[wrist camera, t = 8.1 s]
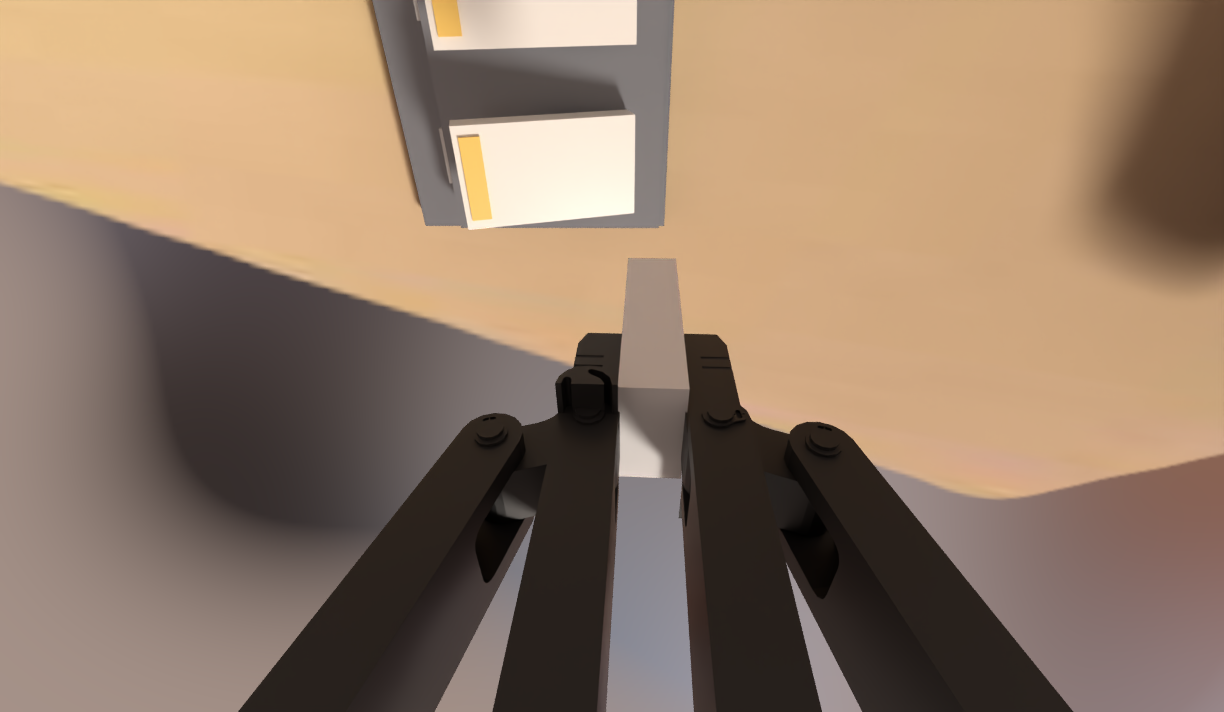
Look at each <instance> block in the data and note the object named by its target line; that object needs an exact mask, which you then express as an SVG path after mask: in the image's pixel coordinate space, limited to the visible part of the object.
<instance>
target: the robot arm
mask: <svg viewBox="0 0 1224 712" xmlns="http://www.w3.org/2000/svg"><path fill="white" fill-rule="evenodd" d="M731 368H732V367H731V362H730V360H729V354H728V349H727V345H726V344H725V343H724V342H723V341H722V340H721V339H720V338H719V337H718V336H717V335H710V334H684V332H683V322H682V313H681V303H680V294H679V284H678V275H677V265H676V259H657V258H628V268H627V280H626V292H625V304H624V317H623V329H622V334H610V333H588V334H587V335H586V336H585V337H584V338H583V339H582V340H581V341H580V342H579V343H578V348H577V352H576V357H575V362H574V367H573V368H572V369H569V370H567V371H566V372H564V373H563V374H561V375H560V376H559V378H558V379H557V381H556V383H555V386H556V397H557V407H558V414H556V415H555V416H554V417H552V418H550V419H548V420H546V421H543V422H539V423H535V424H531V425H525V426H521V423H520V422H519V421H518V420H517V419H516V418H515V417H512V416H510V415H507V414H498V413H493V414H488V415H483V416H480V417H478V418H476V419H474V420H472V421H470V422H469V423H468V424H467V425H466V426H465V427H464V428H463V429H462V430H461V432H460V433H459V434H458V435H457V436H456V438H455V439H454V440H453V442H452V443H451V444H450V445H449V447H448V448H447V449H446V450H445V452H444V453H443V454H442V455H441V457H440V458H439V459H438V460H437V462H436V463H435V464H434V466H433V467H432V468H431V469H430V471H429V472H428V473H427V474H426V476H425V477H424V478H423V479H422V481H421V482H420V483H419V484H418V486H417V487H416V488H415V490H414V491H413V492H412V493H411V494H410V496H409V497H408V498H407V500H406V501H405V502H404V503H403V505H402V506H401V507H400V509H399V510H398V511H397V512H396V513H395V515H394V516H393V517H392V518H391V520H390V521H389V522H388V523H387V525H386V526H385V527H384V529H383V530H382V531H381V532H380V534H379V535H378V536H377V538H376V539H375V540H374V541H373V542H372V544H371V545H370V546H369V547H368V549H367V550H366V551H365V553H364V554H363V555H362V556H361V558H360V559H359V560H358V561H357V563H356V564H355V565H354V566H353V568H352V569H351V570H350V571H349V573H348V574H347V575H346V576H345V578H344V579H343V580H342V581H341V583H340V584H339V585H338V587H337V588H336V589H335V590H334V592H333V593H332V594H331V595H330V597H329V598H328V599H327V601H326V602H325V603H324V604H323V605H322V607H321V608H320V609H319V610H318V612H317V613H316V614H315V616H314V617H313V618H312V619H311V621H310V622H309V623H308V624H307V626H306V627H305V628H304V629H303V631H302V632H301V633H300V634H299V636H298V637H297V638H296V640H295V641H294V642H293V643H292V645H291V646H290V647H289V648H288V650H287V651H286V652H285V653H284V655H283V656H282V657H281V658H280V660H279V661H278V662H277V663H276V665H275V666H274V667H273V668H272V670H271V671H270V672H269V674H268V675H267V676H266V677H265V679H264V680H263V681H262V682H261V684H260V685H259V686H258V687H257V689H256V690H255V691H254V692H253V694H252V695H251V696H250V697H249V699H248V700H247V701H246V703H245V704H244V705H243V706H242V708H241V709H240V710H239V712H435V709H436V708H437V706H438V704H439V702H440V700H441V698H442V696H443V694H444V692H445V690H446V688H447V686H448V684H449V683H450V680H451V679H452V677H453V675H454V673H455V671H456V669H457V667H458V665H459V663H460V661H461V659H462V657H463V655H464V653H465V651H466V650H467V648H468V646H469V644H470V641H471V640H472V638H473V636H474V634H475V632H476V630H477V628H478V626H479V624H480V622H481V620H482V619H483V617H484V615H485V613H486V611H487V609H488V607H489V605H490V603H491V601H492V599H493V597H494V595H495V593H496V591H497V590H498V588H499V586H500V584H501V582H502V580H503V578H504V576H505V574H506V572H507V570H508V568H509V566H510V564H511V562H512V560H513V558H514V557H515V555H516V553H517V551H518V549H519V547H520V545H521V543H522V541H523V539H524V537H525V535H526V533H527V531H528V529H529V528H530V525H531V524H532V522H533V519H534V516H535V520H534V525H533V529H532V534H531V539H530V543H529V548H528V553H527V557H526V562H525V566H524V570H523V575H522V580H521V584H520V589H519V593H518V598H517V602H516V607H515V611H514V616H513V621H512V625H511V630H510V634H509V639H508V644H507V648H506V652H505V657H504V662H503V666H502V671H501V675H500V680H499V685H498V689H497V694H496V698H495V703H494V708H493V712H606V700H607V699H606V698H607V682H608V665H609V648H610V632H611V614H612V598H613V580H614V564H615V547H616V530H617V513H618V496H619V490H618V489H619V486H618V485H619V483H618V481H619V476H630V477H656V478H657V477H658V478H681V471H682V491H681V500H680V511H679V518H682V524H683V540H684V556H685V572H686V589H687V604H688V605H687V606H688V622H689V637H690V653H691V671H692V688H693V704H694V712H822V710H821V706H820V702H819V697H818V693H817V689H816V685H815V681H814V677H813V673H812V668H811V665H810V660H809V656H808V652H807V648H806V644H805V640H804V635H803V631H802V627H801V623H800V619H799V615H798V611H797V607H796V602H795V598H794V594H793V590H792V586H791V582H790V578H789V573H788V569H787V565H788V567H789V569H790V571H791V573H792V575H793V577H794V579H795V580H796V583H797V584H798V586H799V588H800V590H801V592H802V594H803V596H804V598H805V600H806V602H807V604H808V606H809V608H810V610H811V612H812V613H813V616H814V618H815V620H816V622H817V623H818V626H819V628H820V630H821V632H822V633H823V636H824V637H825V639H826V641H827V643H828V645H829V647H830V649H831V651H832V653H833V655H834V657H835V659H836V661H837V663H838V665H839V667H840V669H841V671H842V673H843V675H844V677H845V679H846V681H847V682H848V684H849V687H850V688H851V690H852V692H853V694H854V696H855V698H856V700H857V702H858V704H859V706H860V708H861V710H862V712H1073V711H1072V710H1071V708H1070V707H1069V706H1068V705H1067V704H1066V702H1065V701H1064V700H1063V698H1062V697H1061V696H1060V695H1059V694H1058V692H1057V691H1056V690H1055V689H1054V687H1053V686H1052V685H1051V684H1050V683H1049V681H1048V680H1047V679H1046V678H1045V676H1044V675H1043V674H1042V673H1041V671H1040V670H1039V669H1038V668H1037V666H1036V665H1035V664H1034V663H1033V661H1032V660H1031V659H1030V658H1029V656H1028V655H1027V654H1026V653H1025V652H1024V650H1023V649H1022V648H1021V647H1020V646H1019V644H1018V643H1017V642H1016V640H1015V639H1014V638H1013V637H1012V636H1011V634H1010V633H1009V632H1008V631H1007V629H1006V628H1005V627H1004V626H1003V625H1002V623H1001V622H1000V621H999V620H998V618H997V617H996V616H995V615H994V613H993V612H992V611H991V610H990V608H989V607H988V606H987V605H986V603H985V602H984V601H983V600H982V598H981V597H980V596H979V595H978V593H977V592H976V591H975V590H974V589H973V588H972V586H971V585H970V584H969V582H968V581H967V580H966V579H965V578H964V576H963V575H962V574H961V572H960V571H959V570H958V569H957V568H956V566H955V565H954V564H953V563H952V561H951V560H950V559H949V558H948V556H947V555H946V554H945V553H944V551H943V550H942V549H941V548H940V547H939V545H938V544H937V543H936V542H935V540H934V539H933V538H932V537H931V535H930V534H929V533H928V532H927V530H926V529H925V528H924V527H923V526H922V524H921V523H920V522H919V521H918V519H917V518H916V517H915V516H914V514H913V513H912V512H911V511H910V509H909V508H908V507H907V506H906V505H905V503H904V502H903V501H902V500H901V498H900V497H899V496H898V495H897V493H896V492H895V491H894V490H893V488H892V487H891V486H890V485H889V484H888V482H887V481H886V480H885V479H884V477H883V476H882V475H881V474H880V472H879V471H878V470H877V469H876V467H875V466H874V465H873V464H872V462H871V461H870V460H869V459H868V458H867V456H866V455H865V454H864V453H863V451H862V450H861V449H860V448H859V446H858V445H857V444H856V443H855V441H854V440H853V439H852V438H851V437H850V436H848V435H847V434H846V433H845V432H844V431H842V430H840V429H838V428H836V427H834V426H832V425H829V424H825V423H821V422H805V423H802V424H799V425H797V426H795V427H794V428H793V429H792V430H791V431H790V434H787V433H783V432H779V431H775V430H772V429H769V428H766V427H763V426H761V425H759V424H757V423H755V422H754V421H752V420H751V418H750V416H749V414H748V412H747V410H745V409H744V408H743V407H742V406H740V402H739V398H738V393H737V389H736V384H735V380H734V376H733V371H732V369H731ZM786 563H787V565H786Z"/></svg>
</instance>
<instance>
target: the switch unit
mask: <svg viewBox="0 0 1224 712" xmlns="http://www.w3.org/2000/svg"><path fill="white" fill-rule="evenodd" d="M372 1H373V6H374V10H375V14H376V18H377V22H378V27H379V31H380V35H381V39H382V44H383V48H384V52H385V56H386V60H387V65H388V69H389V73H390V77H391V82H392V86H393V90H394V94H395V98H396V103H397V107H398V111H399V115H400V119H401V124H402V128H403V132H404V136H405V141H406V145H407V149H408V153H409V157H410V162H411V166H412V170H413V174H414V178H415V183H416V187H417V191H418V195H419V200H420V204H421V208H422V212H423V216H424V221H425V225H426V226H461V228H468V225H467V219H466V214H465V209H464V203H463V198H462V193H461V187H460V182H459V177H458V171H457V166H456V161H455V155H454V150H453V145H452V139H451V134H450V129H449V122H450V120H461V119H477V118H494V117H510V116H527V115H543V114H560V113H576V112H593V111H609V110H626V109H627V110H628V111H630V112H632V113H633V114H635V187H634V213H630V214H620V215H611V216H601V217H591V218H581V219H571V220H561V221H551V222H542V223H532V224H522V225H512V226H502V227H492V228H659V226H664V216H665V194H666V172H667V151H668V129H669V107H670V85H671V63H672V41H673V19H674V0H637V42H636V45H603V46H569V47H536V48H502V49H469V50H435V51H434V47H433V42H432V37H431V31H430V26H429V21H428V15H427V10H426V5H425V0H372Z"/></svg>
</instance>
